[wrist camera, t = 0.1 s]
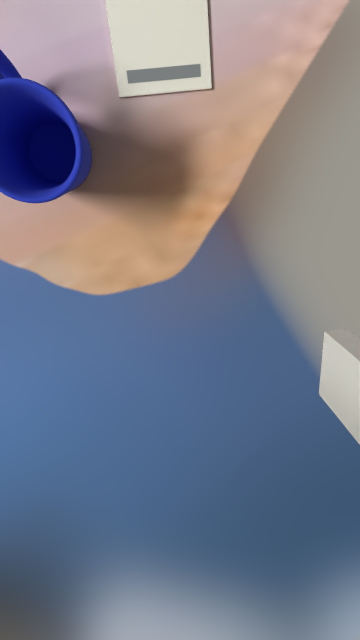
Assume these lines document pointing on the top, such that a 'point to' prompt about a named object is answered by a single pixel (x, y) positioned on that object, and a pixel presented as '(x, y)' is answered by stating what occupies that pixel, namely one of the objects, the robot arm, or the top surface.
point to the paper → (160, 45)
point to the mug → (38, 141)
